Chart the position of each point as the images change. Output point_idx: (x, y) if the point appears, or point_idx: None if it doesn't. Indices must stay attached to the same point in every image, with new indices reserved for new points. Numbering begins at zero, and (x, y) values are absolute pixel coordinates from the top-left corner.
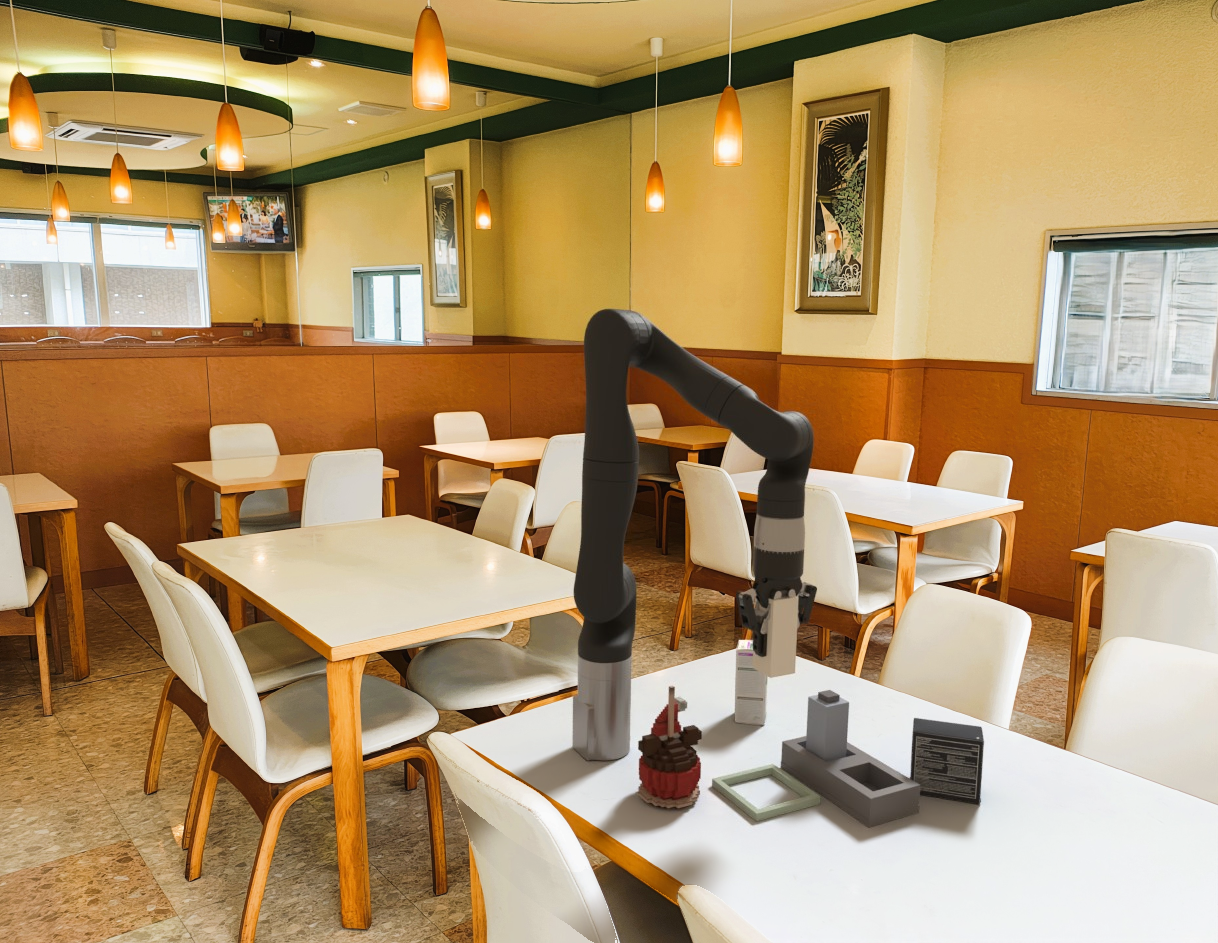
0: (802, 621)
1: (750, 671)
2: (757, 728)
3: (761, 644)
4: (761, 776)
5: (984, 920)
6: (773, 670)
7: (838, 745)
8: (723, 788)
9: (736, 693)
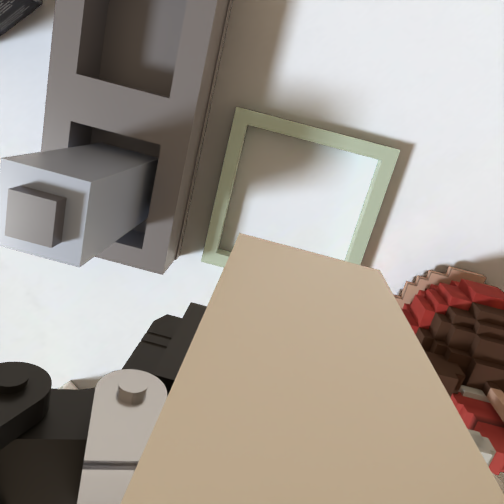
0: (49, 392)
1: None
2: (91, 381)
3: None
4: None
5: None
6: (370, 278)
7: (95, 154)
8: (360, 262)
9: None
